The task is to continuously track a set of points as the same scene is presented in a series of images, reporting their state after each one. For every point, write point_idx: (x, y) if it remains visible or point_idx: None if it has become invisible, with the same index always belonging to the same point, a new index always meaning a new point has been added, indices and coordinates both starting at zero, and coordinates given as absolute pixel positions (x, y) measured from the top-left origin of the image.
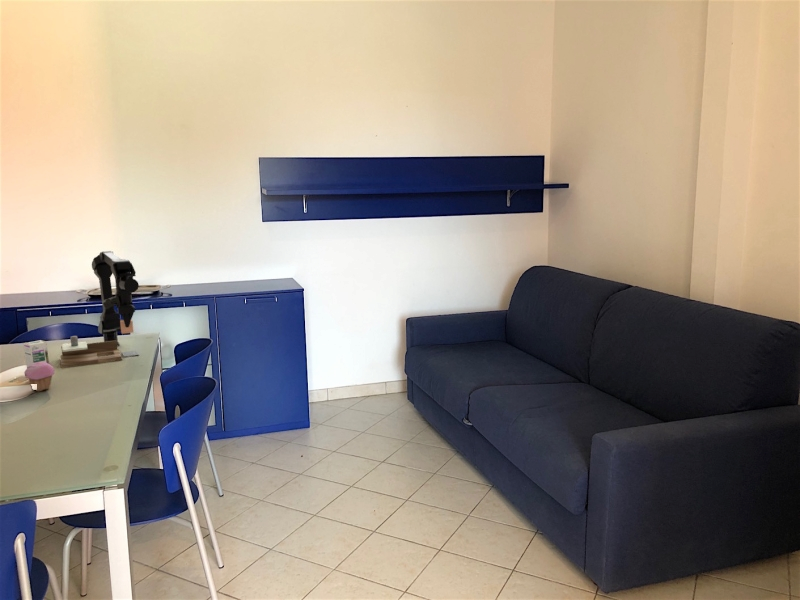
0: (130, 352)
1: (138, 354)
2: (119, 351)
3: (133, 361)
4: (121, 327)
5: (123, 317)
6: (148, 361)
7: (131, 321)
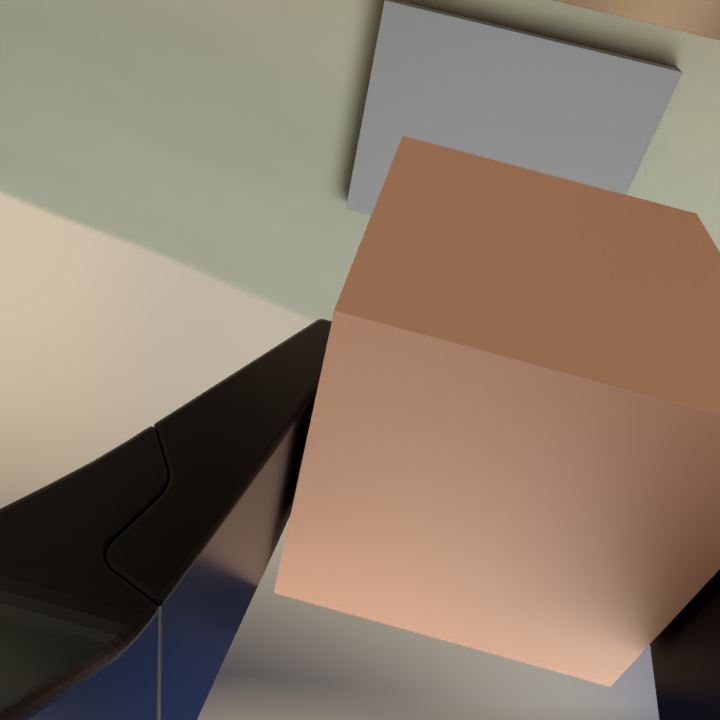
0: (551, 168)
1: (352, 205)
2: (618, 13)
3: (85, 39)
4: (377, 211)
5: (3, 523)
6: (9, 181)
7: (283, 563)
